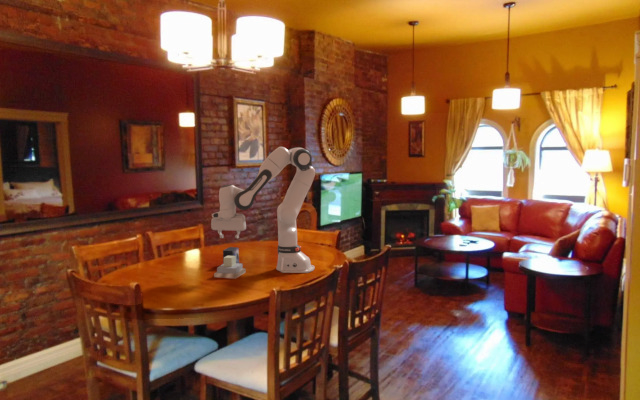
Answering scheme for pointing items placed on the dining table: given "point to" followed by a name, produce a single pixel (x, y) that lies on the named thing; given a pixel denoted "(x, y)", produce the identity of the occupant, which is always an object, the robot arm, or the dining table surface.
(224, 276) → the bottom slab
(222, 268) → the top slab
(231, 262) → the beige block
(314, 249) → the dining table surface
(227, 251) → the small box
